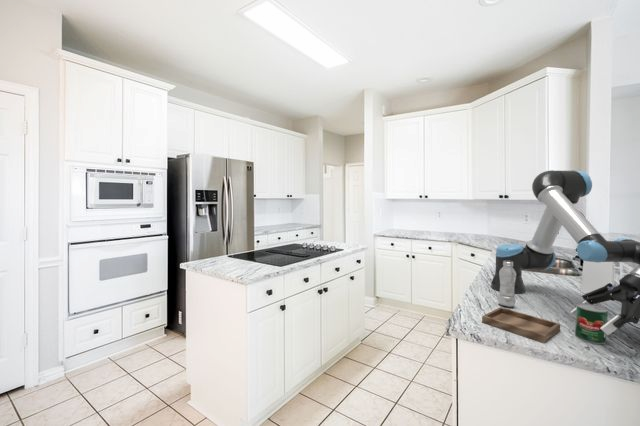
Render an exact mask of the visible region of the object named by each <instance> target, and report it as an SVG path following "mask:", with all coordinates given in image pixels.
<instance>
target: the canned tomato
mask: <svg viewBox="0 0 640 426" xmlns="http://www.w3.org/2000/svg"><path fill="white" fill-rule="evenodd" d="M576 307H577V312H576V317H575V330H574V331H575V333H574V337H576V338H577V339H579V340H581V341H583V342H587V343H590V344H596V345H604V344H606V343H607V335H606V334H605V333H604V332H603V331H602V330H601V329H600V328H601V327H602V326H603V325H605V324H606V323H607V322H608V316H609V315H608V314H609V310H608V308H606V307H605V306H604V307H603V306H600V305H596V304H586V303H581V302H579V303H577V304H576Z"/></svg>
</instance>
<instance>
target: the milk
mask: <svg viewBox="0 0 640 426" xmlns="http://www.w3.org/2000/svg"><path fill="white" fill-rule="evenodd" d="M580 283H581V284H580V293H584V294H587V293H589V292H592V291H594V290H597V289H599V288H602V287H604V286H605V285H607V284H608V283H611V284H612V285H613V286H615V262H588V261H584V260H583V263H582V273H581V281H580Z"/></svg>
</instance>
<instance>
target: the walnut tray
mask: <svg viewBox="0 0 640 426" xmlns="http://www.w3.org/2000/svg"><path fill="white" fill-rule="evenodd" d="M481 318H482V319H481V323H482V324H486V325H489V326H491V327H495V328H497V329H500V330H504V331H507V332H509V333H513V334H515V335H518V336H521V337H524V338H528V339H531V340H533V341H537V342H540V343H542V344H546V343H547V342H548V341H549V340H550V339H551V340H552V338H553V337H554V336H556V335H557V334H558V333H560V331H561V323H559V322H556V321H552V320H547V319H544V318H542V317H541V318H540V317H537V316H533V315H531V314H527V313H523V312H520V311H515V310H512V309H509V308H507V307H506V308H505V307H497V308H496V309H494V310H492V311H490V312H488V313H486V314H483V315H482V316H481Z"/></svg>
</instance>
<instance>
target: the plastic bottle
mask: <svg viewBox="0 0 640 426" xmlns="http://www.w3.org/2000/svg"><path fill="white" fill-rule="evenodd" d="M503 265H504V266H503V267H502V268H501V269H500V271H499V277H500V291H498V292H499V293H498V296H497V300H498V303H499V304H500V305H501V306H503V307H506V308H507V307H509V308H513V307H515V305H516V295H515V293H514V286H515V280H516V272H515V270H514V269H513V267H512V266H513V262H512V261H503Z"/></svg>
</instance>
